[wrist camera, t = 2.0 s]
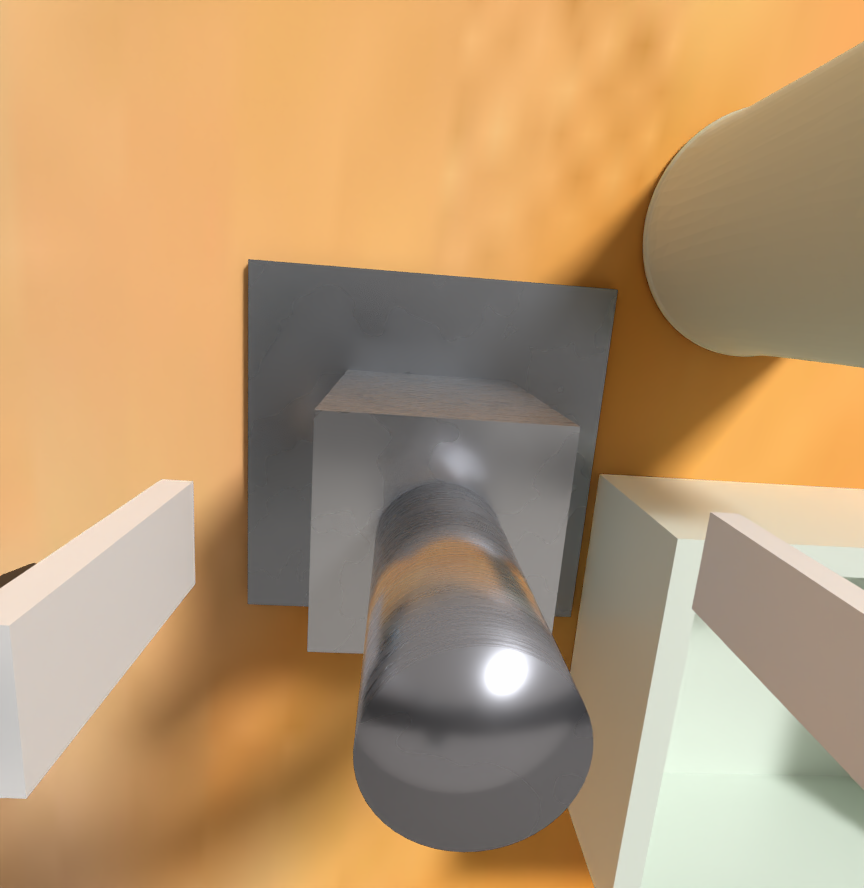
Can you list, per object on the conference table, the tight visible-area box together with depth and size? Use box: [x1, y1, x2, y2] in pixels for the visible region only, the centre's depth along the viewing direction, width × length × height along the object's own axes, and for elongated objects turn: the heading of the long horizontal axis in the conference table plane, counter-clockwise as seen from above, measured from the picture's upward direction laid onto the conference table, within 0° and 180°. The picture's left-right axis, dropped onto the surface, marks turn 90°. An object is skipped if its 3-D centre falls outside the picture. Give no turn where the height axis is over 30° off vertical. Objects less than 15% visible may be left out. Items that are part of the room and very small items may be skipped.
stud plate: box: [248, 259, 618, 617], centre depth 20 cm, size 14×14×8 cm
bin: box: [568, 474, 864, 888], centre depth 23 cm, size 15×15×7 cm
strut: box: [307, 370, 593, 852], centre depth 15 cm, size 6×6×16 cm
